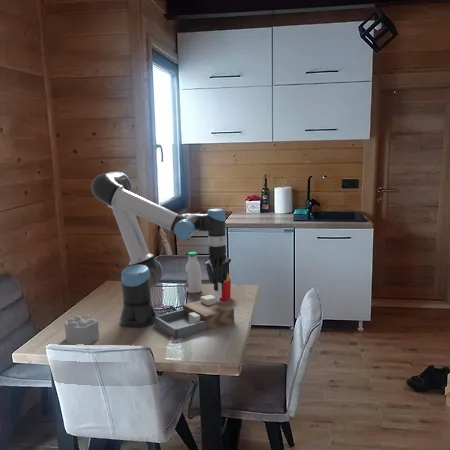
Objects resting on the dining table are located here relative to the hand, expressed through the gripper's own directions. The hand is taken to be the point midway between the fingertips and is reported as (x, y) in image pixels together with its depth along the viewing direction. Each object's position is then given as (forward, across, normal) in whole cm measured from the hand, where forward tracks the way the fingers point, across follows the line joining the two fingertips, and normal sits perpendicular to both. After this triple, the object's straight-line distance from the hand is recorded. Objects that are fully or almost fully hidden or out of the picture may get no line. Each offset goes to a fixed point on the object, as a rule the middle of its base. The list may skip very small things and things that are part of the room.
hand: (218, 297), depth 217 cm
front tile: (+4, -16, -8) cm, 19 cm away
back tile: (+1, -5, 0) cm, 5 cm away
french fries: (+7, +13, +14) cm, 20 cm away
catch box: (+7, -22, -4) cm, 24 cm away
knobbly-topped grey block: (+8, -58, +11) cm, 60 cm away
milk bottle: (+8, +8, +34) cm, 35 cm away
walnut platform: (+7, -8, -4) cm, 12 cm away
